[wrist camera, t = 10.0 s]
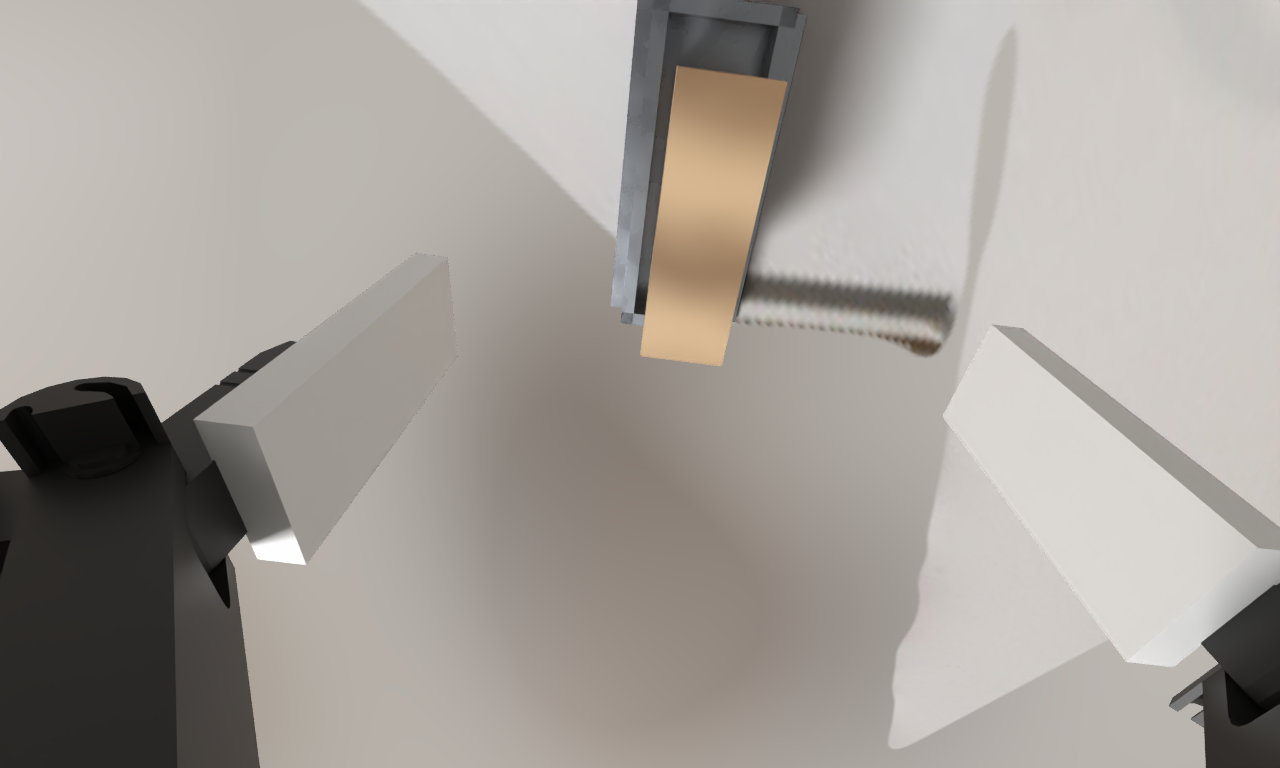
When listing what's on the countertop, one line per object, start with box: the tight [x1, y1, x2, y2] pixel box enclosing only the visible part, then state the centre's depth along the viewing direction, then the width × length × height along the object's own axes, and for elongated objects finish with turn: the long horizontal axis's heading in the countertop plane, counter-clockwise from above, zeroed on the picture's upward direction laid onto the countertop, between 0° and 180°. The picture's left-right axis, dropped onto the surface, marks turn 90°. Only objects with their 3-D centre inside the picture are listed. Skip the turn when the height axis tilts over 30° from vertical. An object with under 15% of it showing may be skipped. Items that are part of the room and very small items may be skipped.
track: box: [611, 0, 807, 326], centre depth 31 cm, size 18×9×3 cm, turn 174°
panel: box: [640, 65, 788, 366], centre depth 27 cm, size 12×4×12 cm, turn 174°
